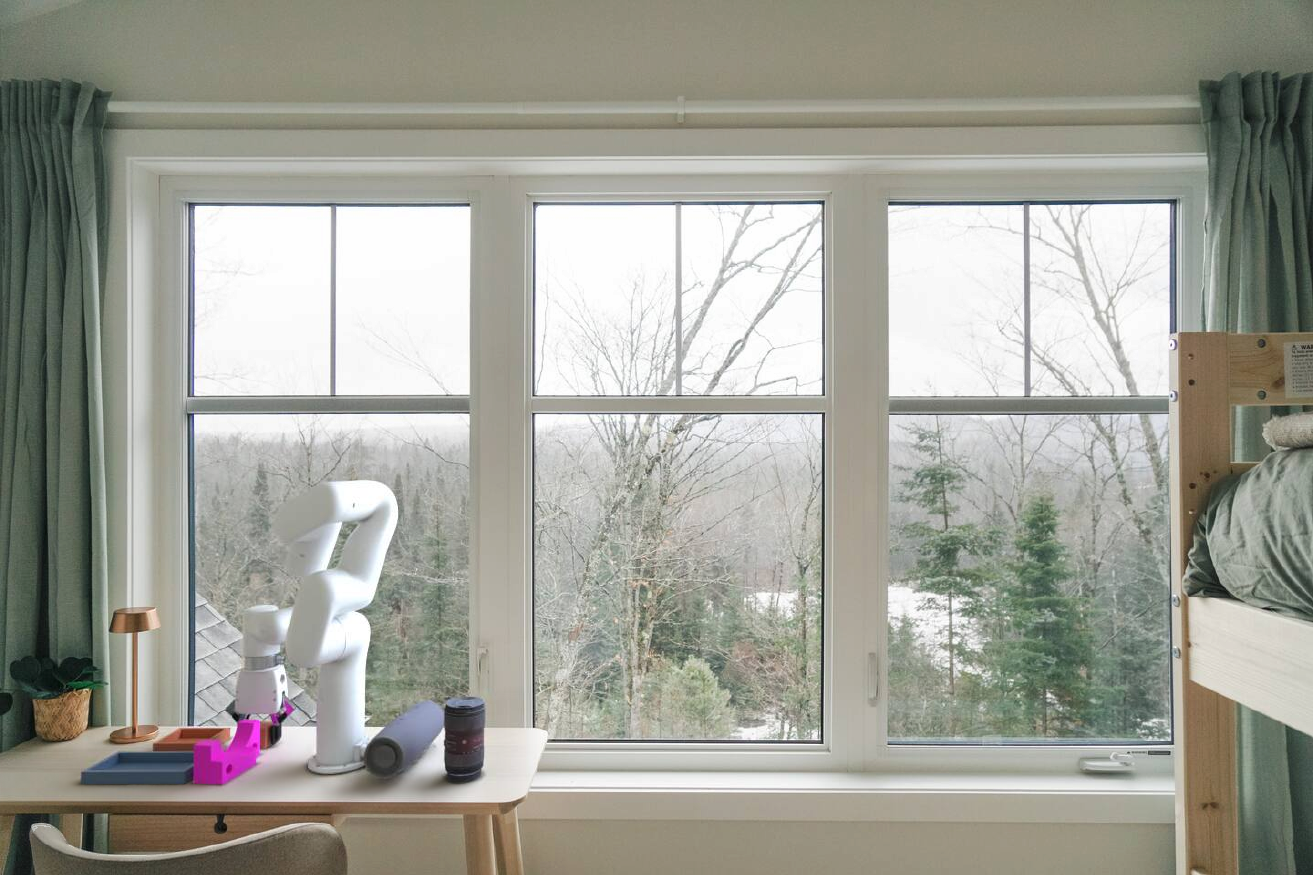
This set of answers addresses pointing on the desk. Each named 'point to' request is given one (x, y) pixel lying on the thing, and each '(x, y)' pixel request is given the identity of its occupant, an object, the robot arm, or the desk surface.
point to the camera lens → (464, 738)
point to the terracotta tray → (190, 738)
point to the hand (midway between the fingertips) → (260, 741)
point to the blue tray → (142, 768)
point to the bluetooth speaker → (404, 740)
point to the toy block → (227, 755)
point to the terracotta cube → (265, 734)
